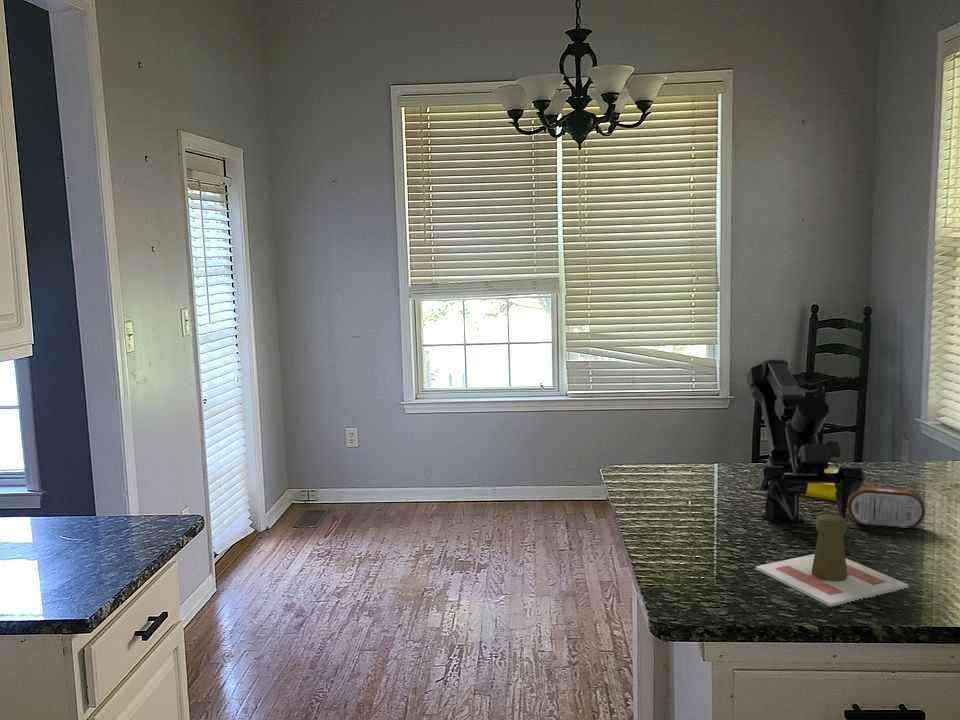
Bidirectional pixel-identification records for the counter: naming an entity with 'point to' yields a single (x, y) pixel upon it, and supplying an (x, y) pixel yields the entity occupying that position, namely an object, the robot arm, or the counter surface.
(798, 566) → the letter board
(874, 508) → the tin
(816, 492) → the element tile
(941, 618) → the counter surface
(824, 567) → the cork
